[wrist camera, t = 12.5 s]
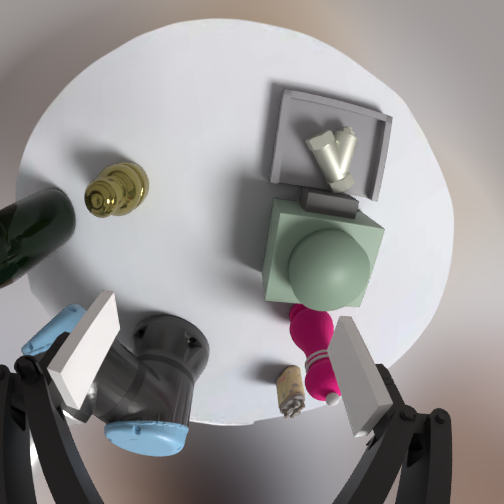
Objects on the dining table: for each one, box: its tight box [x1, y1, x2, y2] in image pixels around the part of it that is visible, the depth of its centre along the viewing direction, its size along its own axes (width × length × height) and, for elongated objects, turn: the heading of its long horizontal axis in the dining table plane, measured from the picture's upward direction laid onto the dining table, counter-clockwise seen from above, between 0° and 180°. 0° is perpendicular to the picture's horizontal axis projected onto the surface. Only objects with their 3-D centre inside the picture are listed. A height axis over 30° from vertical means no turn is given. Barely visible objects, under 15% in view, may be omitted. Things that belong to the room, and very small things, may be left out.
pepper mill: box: [289, 303, 341, 406], centre depth 38 cm, size 7×7×20 cm
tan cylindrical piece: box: [276, 366, 305, 418], centre depth 49 cm, size 7×4×10 cm, turn 156°
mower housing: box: [262, 187, 385, 311], centre depth 36 cm, size 14×14×11 cm
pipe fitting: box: [305, 126, 358, 193], centre depth 34 cm, size 8×4×7 cm
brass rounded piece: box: [84, 162, 149, 218], centre depth 33 cm, size 7×7×10 cm
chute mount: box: [269, 89, 393, 201], centre depth 35 cm, size 13×16×2 cm
